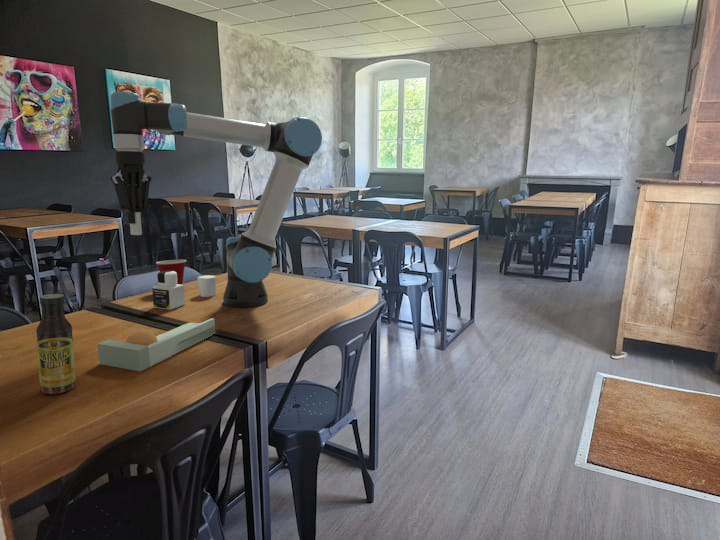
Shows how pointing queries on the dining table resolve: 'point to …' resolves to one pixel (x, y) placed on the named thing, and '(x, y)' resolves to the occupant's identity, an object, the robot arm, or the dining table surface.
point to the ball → (142, 338)
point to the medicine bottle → (168, 291)
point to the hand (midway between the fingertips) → (136, 234)
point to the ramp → (154, 347)
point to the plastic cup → (173, 268)
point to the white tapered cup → (207, 285)
